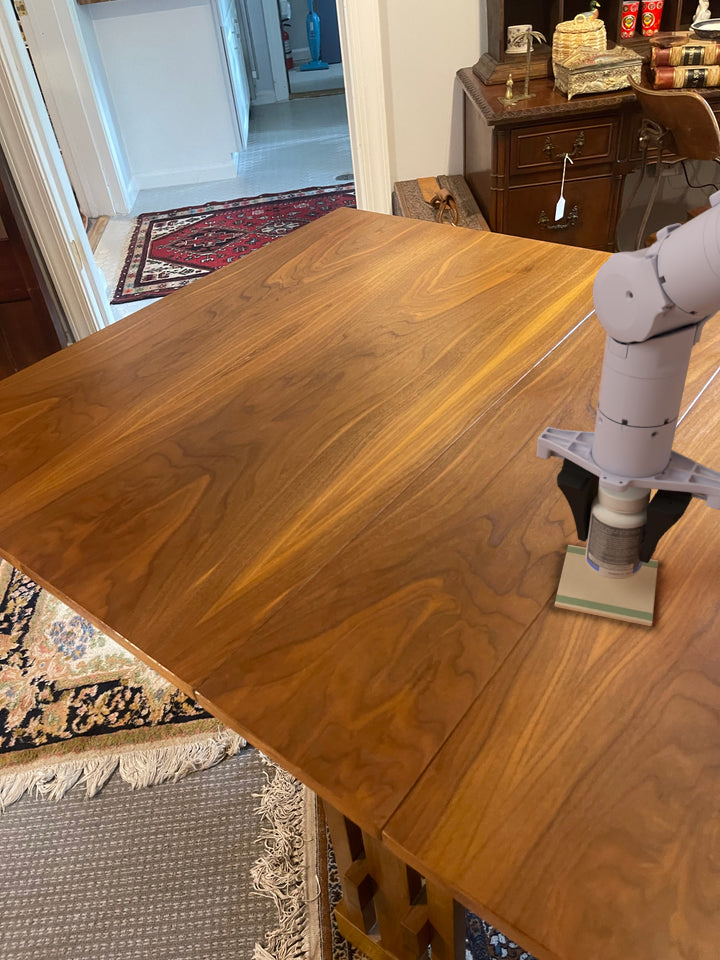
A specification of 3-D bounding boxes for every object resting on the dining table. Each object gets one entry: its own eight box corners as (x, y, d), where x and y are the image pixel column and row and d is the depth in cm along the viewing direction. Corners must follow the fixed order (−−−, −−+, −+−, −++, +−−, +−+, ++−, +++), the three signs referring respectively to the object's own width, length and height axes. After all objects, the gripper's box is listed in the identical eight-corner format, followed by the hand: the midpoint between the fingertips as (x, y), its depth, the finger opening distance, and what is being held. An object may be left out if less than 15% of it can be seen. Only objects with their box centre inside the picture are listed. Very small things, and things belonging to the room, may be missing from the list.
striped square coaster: (657, 563, 67) (658, 559, 67) (651, 626, 61) (652, 622, 61) (568, 547, 70) (568, 543, 70) (554, 606, 64) (554, 603, 64)
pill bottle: (648, 580, 61) (664, 502, 56) (590, 581, 62) (601, 504, 57) (634, 542, 65) (648, 466, 60) (580, 544, 66) (589, 468, 61)
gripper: (523, 408, 56) (516, 542, 64) (727, 461, 48) (690, 606, 56) (561, 368, 60) (550, 498, 68) (753, 411, 53) (715, 552, 61)
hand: (615, 544), depth 62 cm, fingers closed on pill bottle, 5 cm apart
